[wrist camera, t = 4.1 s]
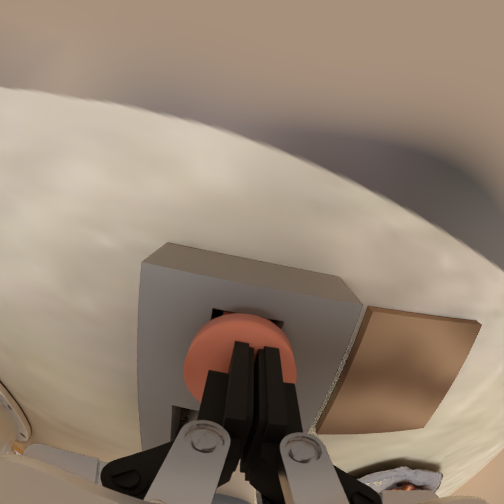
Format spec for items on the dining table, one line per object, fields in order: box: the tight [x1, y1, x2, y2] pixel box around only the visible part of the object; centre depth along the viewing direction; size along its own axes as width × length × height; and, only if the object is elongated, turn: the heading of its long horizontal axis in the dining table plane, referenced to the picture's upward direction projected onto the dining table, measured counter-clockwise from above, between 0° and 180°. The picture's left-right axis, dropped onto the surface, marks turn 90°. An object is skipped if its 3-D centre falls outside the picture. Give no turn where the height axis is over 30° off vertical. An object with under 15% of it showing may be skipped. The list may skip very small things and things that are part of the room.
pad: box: [315, 306, 482, 434], centre depth 18 cm, size 11×11×1 cm
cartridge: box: [187, 409, 254, 504], centre depth 14 cm, size 5×5×10 cm
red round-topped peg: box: [183, 310, 297, 403], centre depth 14 cm, size 4×4×7 cm
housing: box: [137, 243, 363, 451], centre depth 16 cm, size 16×10×4 cm, turn 168°
